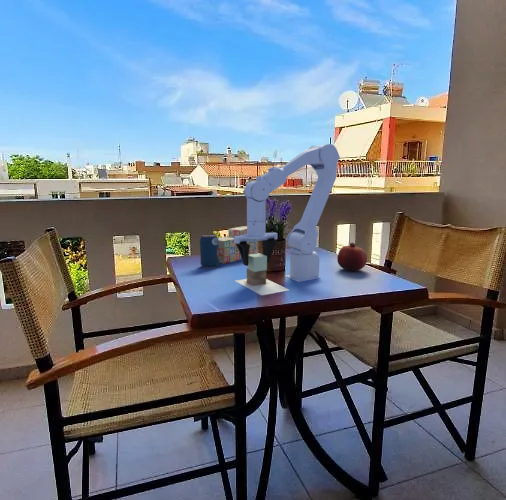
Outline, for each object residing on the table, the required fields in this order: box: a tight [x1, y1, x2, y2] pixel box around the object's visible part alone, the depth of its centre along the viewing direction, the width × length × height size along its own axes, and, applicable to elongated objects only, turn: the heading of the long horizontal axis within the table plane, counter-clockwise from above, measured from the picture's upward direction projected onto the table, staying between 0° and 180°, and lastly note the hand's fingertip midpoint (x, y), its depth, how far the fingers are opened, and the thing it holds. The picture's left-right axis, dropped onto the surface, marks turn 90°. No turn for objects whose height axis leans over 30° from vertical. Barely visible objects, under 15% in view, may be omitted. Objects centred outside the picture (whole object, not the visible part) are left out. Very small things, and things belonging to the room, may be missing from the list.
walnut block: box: [246, 268, 267, 285], centre depth 118 cm, size 4×4×4 cm
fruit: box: [336, 242, 368, 272], centre depth 134 cm, size 11×10×10 cm
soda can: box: [199, 233, 220, 269], centre depth 140 cm, size 7×7×12 cm
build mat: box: [235, 278, 290, 296], centre depth 116 cm, size 10×17×1 cm, turn 30°
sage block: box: [246, 252, 268, 272], centre depth 117 cm, size 4×4×4 cm
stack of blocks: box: [217, 225, 256, 265], centre depth 153 cm, size 21×6×12 cm, turn 141°
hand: (256, 263), depth 118 cm, fingers open, 7 cm apart
